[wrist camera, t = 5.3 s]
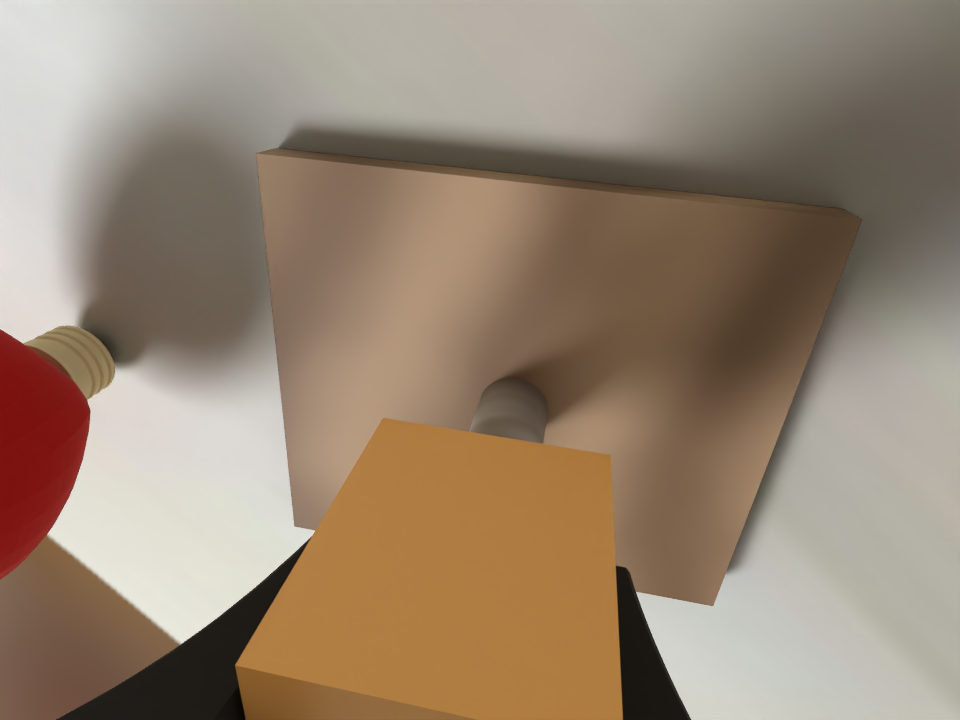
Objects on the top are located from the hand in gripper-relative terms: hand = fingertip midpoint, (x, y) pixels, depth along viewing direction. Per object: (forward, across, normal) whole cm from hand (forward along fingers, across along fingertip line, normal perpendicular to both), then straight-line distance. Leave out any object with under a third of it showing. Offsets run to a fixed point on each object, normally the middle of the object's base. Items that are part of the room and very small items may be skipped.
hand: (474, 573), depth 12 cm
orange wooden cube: (+1, 0, 0) cm, 1 cm away
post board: (+8, 0, 0) cm, 8 cm away
